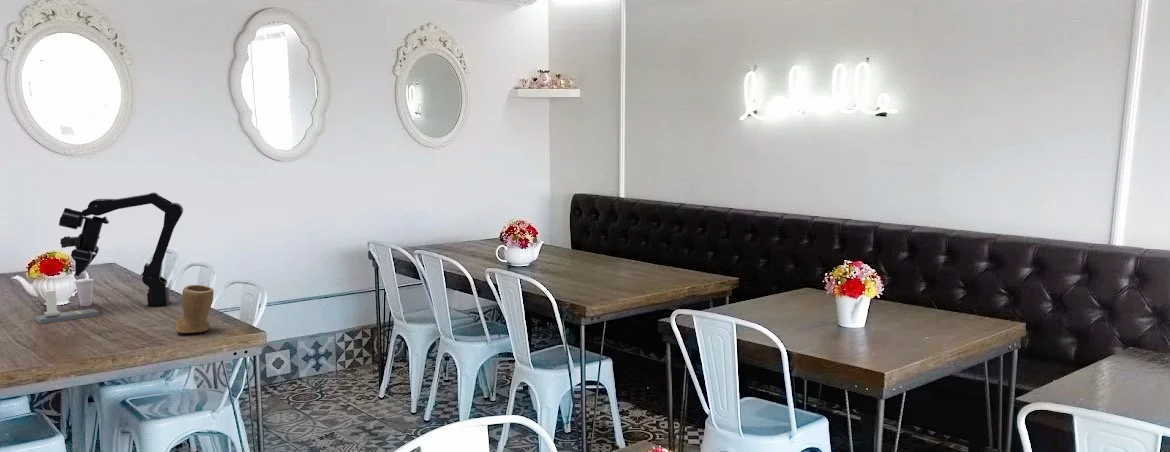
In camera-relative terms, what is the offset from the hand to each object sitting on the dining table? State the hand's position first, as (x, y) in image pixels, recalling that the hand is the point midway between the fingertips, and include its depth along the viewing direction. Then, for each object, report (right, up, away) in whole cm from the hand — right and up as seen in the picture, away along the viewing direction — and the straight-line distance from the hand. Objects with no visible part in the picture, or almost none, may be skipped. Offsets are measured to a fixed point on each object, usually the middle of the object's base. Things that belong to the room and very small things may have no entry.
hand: (79, 273), depth 313 cm
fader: (-2, -14, -13) cm, 19 cm away
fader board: (+2, -15, -10) cm, 18 cm away
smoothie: (-4, -13, +12) cm, 18 cm away
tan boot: (+57, -17, -31) cm, 67 cm away
